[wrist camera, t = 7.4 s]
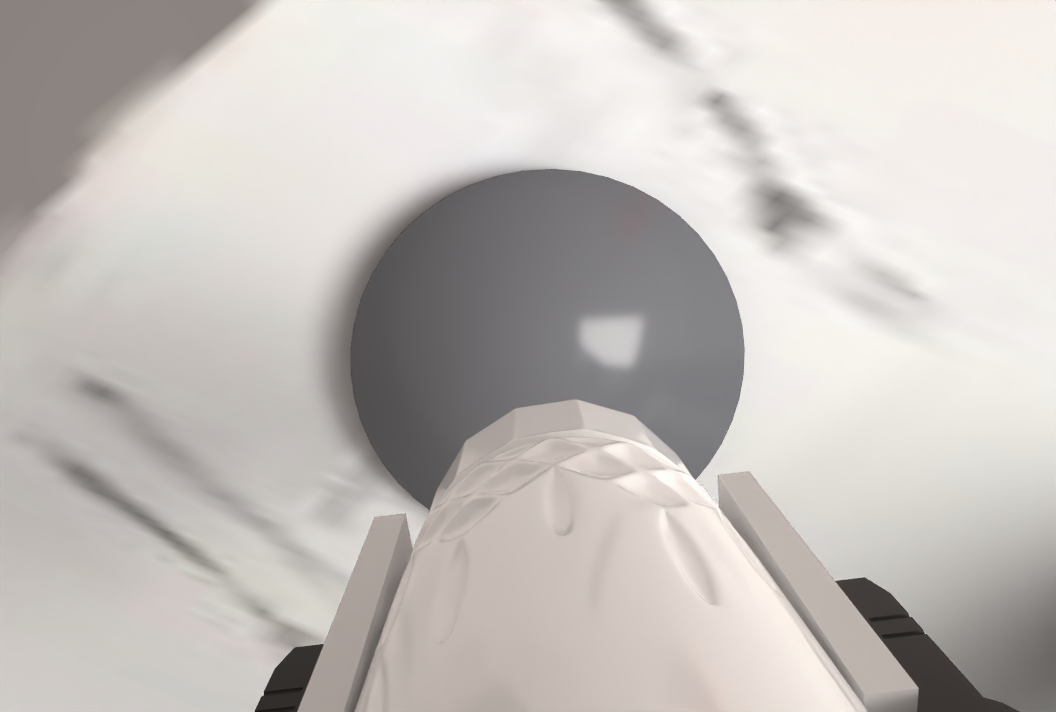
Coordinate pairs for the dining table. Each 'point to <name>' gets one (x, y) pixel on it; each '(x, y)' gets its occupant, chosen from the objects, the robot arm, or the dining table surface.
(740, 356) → the slate plate
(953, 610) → the dining table surface
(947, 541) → the dining table surface
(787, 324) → the dining table surface
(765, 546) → the robot arm
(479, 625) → the white cup
